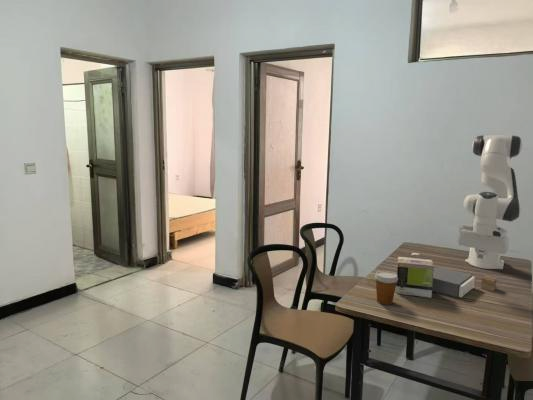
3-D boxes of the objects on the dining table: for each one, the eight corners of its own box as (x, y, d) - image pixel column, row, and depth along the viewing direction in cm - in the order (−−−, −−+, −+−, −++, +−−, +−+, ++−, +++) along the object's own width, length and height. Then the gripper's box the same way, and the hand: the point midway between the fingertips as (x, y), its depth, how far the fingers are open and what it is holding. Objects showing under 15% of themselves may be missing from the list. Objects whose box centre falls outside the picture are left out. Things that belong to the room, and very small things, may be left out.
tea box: (430, 290, 183) (433, 259, 181) (431, 298, 174) (434, 266, 172) (395, 285, 188) (398, 255, 186) (395, 293, 179) (397, 261, 176)
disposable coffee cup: (393, 308, 164) (395, 280, 162) (370, 302, 169) (371, 275, 167) (398, 300, 172) (401, 273, 170) (376, 295, 177) (378, 269, 175)
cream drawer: (441, 278, 197) (442, 269, 197) (473, 287, 187) (474, 276, 186) (427, 287, 185) (428, 277, 184) (461, 297, 175) (462, 286, 174)
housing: (438, 278, 199) (439, 266, 198) (470, 286, 189) (472, 274, 188) (423, 288, 186) (424, 275, 185) (457, 297, 176) (458, 284, 175)
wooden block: (484, 285, 191) (485, 275, 190) (495, 288, 187) (497, 278, 186) (480, 288, 187) (482, 278, 186) (492, 291, 184) (494, 280, 183)
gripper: (457, 225, 183) (454, 254, 186) (507, 234, 169) (503, 265, 172) (461, 223, 188) (459, 251, 190) (511, 231, 174) (507, 261, 177)
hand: (480, 258), depth 181 cm, fingers closed
